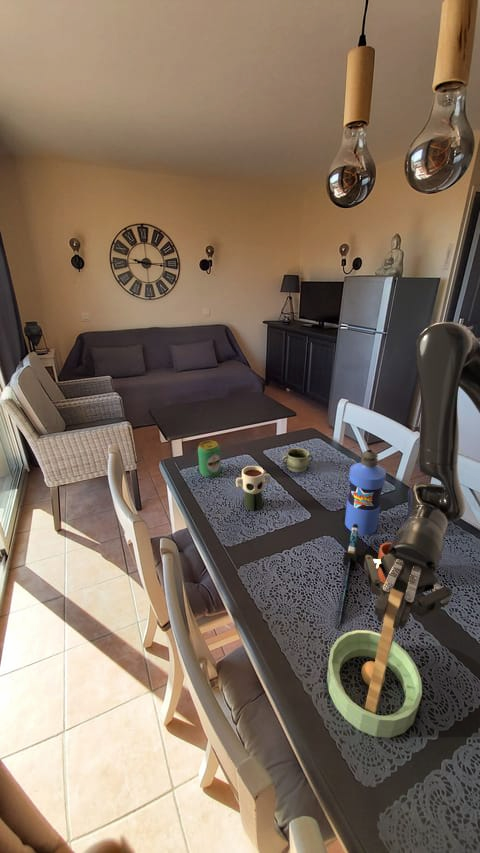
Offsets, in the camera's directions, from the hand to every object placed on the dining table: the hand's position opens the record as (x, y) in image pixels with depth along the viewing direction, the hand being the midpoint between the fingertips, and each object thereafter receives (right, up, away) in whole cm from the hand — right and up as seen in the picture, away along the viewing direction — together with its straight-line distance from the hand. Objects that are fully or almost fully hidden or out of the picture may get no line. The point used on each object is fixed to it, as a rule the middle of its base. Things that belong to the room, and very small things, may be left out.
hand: (388, 620), depth 50 cm
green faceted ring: (+3, -21, +15) cm, 26 cm away
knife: (+6, -11, +39) cm, 41 cm away
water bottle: (+15, -2, +56) cm, 58 cm away
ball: (+2, -19, +14) cm, 24 cm away
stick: (0, -20, +8) cm, 22 cm away
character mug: (-16, +1, +67) cm, 69 cm away
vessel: (+1, +11, +89) cm, 89 cm away
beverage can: (-32, +9, +86) cm, 93 cm away
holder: (+16, -10, +38) cm, 42 cm away
